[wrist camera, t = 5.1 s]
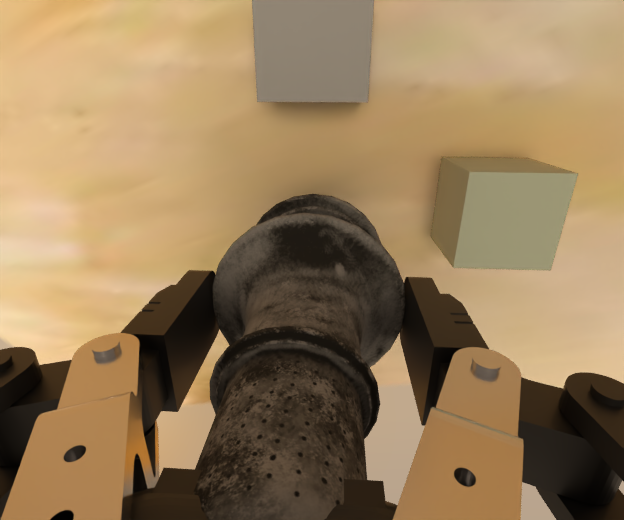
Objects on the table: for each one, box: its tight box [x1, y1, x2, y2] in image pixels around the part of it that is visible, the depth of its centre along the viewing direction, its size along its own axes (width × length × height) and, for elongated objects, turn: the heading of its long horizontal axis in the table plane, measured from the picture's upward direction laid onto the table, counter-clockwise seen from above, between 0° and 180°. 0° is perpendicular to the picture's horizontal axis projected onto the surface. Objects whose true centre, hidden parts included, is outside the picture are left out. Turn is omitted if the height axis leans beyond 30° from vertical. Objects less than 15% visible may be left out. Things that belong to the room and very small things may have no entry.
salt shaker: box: [194, 194, 406, 520], centre depth 9 cm, size 6×6×12 cm
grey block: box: [252, 0, 374, 102], centre depth 18 cm, size 5×5×5 cm
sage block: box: [431, 157, 578, 270], centre depth 21 cm, size 5×5×5 cm
